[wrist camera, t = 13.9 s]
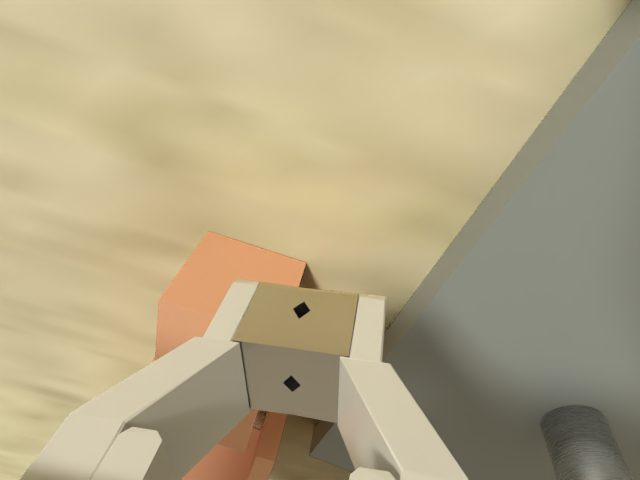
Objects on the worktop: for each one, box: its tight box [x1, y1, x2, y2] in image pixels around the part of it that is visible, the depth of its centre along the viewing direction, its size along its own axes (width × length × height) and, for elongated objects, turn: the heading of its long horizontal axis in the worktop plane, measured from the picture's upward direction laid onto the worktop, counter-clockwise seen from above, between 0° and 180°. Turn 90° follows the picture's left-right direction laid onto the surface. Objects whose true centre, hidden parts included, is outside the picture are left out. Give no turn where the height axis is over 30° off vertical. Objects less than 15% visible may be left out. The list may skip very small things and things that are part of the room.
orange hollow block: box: [152, 231, 306, 480], centre depth 18 cm, size 13×7×4 cm, turn 164°
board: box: [309, 0, 640, 480], centre depth 16 cm, size 22×15×2 cm
